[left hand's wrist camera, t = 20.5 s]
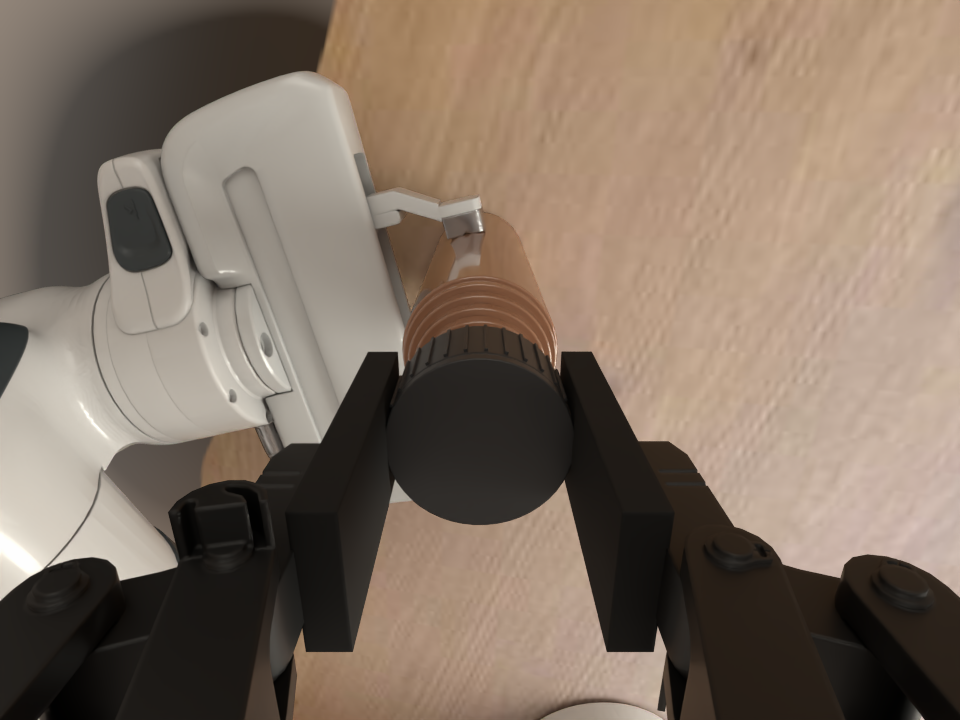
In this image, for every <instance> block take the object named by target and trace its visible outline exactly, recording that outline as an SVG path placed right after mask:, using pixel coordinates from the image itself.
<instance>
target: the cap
mask: <svg viewBox="0 0 960 720" xmlns="http://www.w3.org/2000/svg"><path fill="white" fill-rule="evenodd" d="M567 401H568V399H567V396H566V393H565V390H564V387H563V384H562V381H561V378H560V375H559V372H558V370H557V369H556V370H555V369H554V367H553V366H552V363H551V360H550V357H549V356H548V355H546V356H545V354H544V353H543V352H542V351H541V350H540V349H539V348H538V345H537V344H536V343H534V344H533V343H532V342H530V341H529V340H528V339H526V338H524V337H523V335H522V334H521V333H519V334H516V333H514V332H512V331H509V330H506V328H505V327H502V329H501V328H497V327H490V326H487V324H484V326H470V327H469V325H465V327H462V328H458V329H454V330H451V329H449V330H447V332H446V333H444V334H441V335H439V336H438V337H436V338H434V337H432V338H431V340H430V341H429V342H428V343H427V344H425V345H424V346H423V347H422V348H420V347H419V348H418V349H417V351H416V354H415V355H414V356H413V358H412V359H411V360H410V361H409V360H408V361H407V362H406V365H405V368H404V371H403V374H402V375H400V376H399V379H398V382H397V385H396V388H395V391H394V394H393V397H392V400H391V403H390V406H389V407H390V408H391V411H390V414H389V418H388V421H387V426H386V440H387V455H388V465H389V467H390V470H391V472H392V474H393V476H394V478H395V480H396V482H397V483H398V485H399V486H400V487H401V489H402V490H403V491H404V492H405V493H406V494H407V495H408V497H409V498H410V499H411V500H413V501H414V502H415V503H416V504H418V505H419V506H420V507H422V508H423V509H425V510H427V511H428V512H430V513H432V514H434V515H436V516H438V517H440V518H443V519H446V520H449V521H453V522H457V523H462V524H471V525H489V524H498V523H502V522H507V521H510V520H513V519H516V518H519V517H522V516H524V515H526V514H528V513H530V512H532V511H533V510H535V509H536V508H538V507H540V506H541V505H542V504H543V503H545V502H546V501H547V500H548V499H549V498H550V497H551V496H552V495H553V494H554V493H555V492H556V491H557V490H558V488H559V487H560V486H561V484H562V483H563V481H564V479H565V477H566V476H567V474H568V472H569V469H570V467H571V463H572V449H573V434H574V426H573V422H572V418H571V413H570V410H569V407H568V404H567Z"/></svg>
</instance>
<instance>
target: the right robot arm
mask: <svg viewBox="0 0 960 720" xmlns="http://www.w3.org/2000/svg"><path fill="white" fill-rule="evenodd" d="M97 184H98V192H99V199H100V205H101V211H102V217H103V224H104V230H105V237H106V245H107V253H108V262H109V273H108V274H106V275H105V276H103V277H101V278H100V279H98V280H97V281H95V282H94V283H92V284H90V285H87V286H82V287H73V286H49V287H43V288H38V289H34V290H30V291H26V292H22V293H18V294H14V295H11V296H7V297H4V298H0V601H1V600H2V599H3V598H4V597H5V596H6V595H7V594H8V593H9V592H10V591H11V590H13V589H14V588H15V587H17V586H18V585H19V584H21V583H22V582H23V581H25V580H26V579H27V578H29V577H30V576H32V575H34V574H36V573H38V572H40V571H42V570H44V569H46V568H48V567H50V566H52V565H55V564H58V563H62V562H65V561H69V560H72V559H79V558H88V557H95V558H101V559H106V560H108V561H109V562H111V563H112V564H113V565H114V566H115V567H116V570H117V573H118V576H119V580H120V581H121V580H125V579H130V578H134V577H139V576H143V575H148V574H153V573H157V572H161V571H165V570H168V569H172V568H175V567H177V565H178V563H179V561H180V559H179V555H178V551H177V547H176V544H175V543H174V542H173V541H172V540H171V539H170V538H168V537H167V536H166V535H165V534H164V533H163V532H162V531H160V530H159V529H157V528H156V527H154V526H153V525H152V524H151V523H150V522H149V521H148V520H147V519H146V518H145V516H144V515H143V514H142V513H141V512H140V511H139V510H138V509H137V508H136V507H135V505H134V504H133V503H132V502H131V501H130V500H129V499H128V498H127V497H126V496H125V494H124V493H123V492H122V491H121V490H120V489H119V488H118V487H117V486H116V484H115V483H114V482H113V481H112V480H111V479H110V478H109V477H108V476H107V475H106V473H105V472H104V471H105V470H106V469H107V467H108V465H109V464H110V462H111V460H112V458H113V457H114V455H115V454H116V453H118V452H120V451H122V450H124V449H125V448H127V447H129V446H131V445H135V444H151V445H170V444H178V443H182V442H187V441H191V440H196V439H201V438H206V437H210V436H215V435H220V434H224V433H229V432H234V431H238V430H243V429H248V428H253V427H255V429H256V432H257V434H258V436H259V439H260V441H261V443H262V446H263V448H264V450H265V452H266V454H267V455H268V457H269V458H270V460H271V458H272V457H273V456H274V455H275V454H277V453H278V452H280V451H281V450H282V449H284V448H285V447H287V446H288V445H289V444H291V443H321V441H322V439H323V438H324V436H325V434H326V432H327V430H328V428H329V426H330V424H331V422H332V420H333V418H334V416H335V414H336V412H337V411H338V409H339V407H340V405H341V403H342V401H343V399H344V397H345V395H346V393H347V391H348V389H349V387H350V386H351V384H352V382H353V380H354V378H355V376H356V374H357V372H358V370H359V368H360V366H361V364H362V362H363V360H364V359H365V357H366V355H367V353H368V352H398V360H399V376H400V375H402V374H403V371H404V368H405V367H404V361H403V354H402V342H403V335H404V330H405V327H406V324H407V322H408V319H409V316H410V314H411V311H410V307H409V304H408V300H407V297H406V293H405V290H404V287H403V283H402V280H401V276H400V273H399V269H398V266H397V262H396V259H395V255H394V252H393V248H392V245H391V242H390V238H389V235H388V231H387V228H386V227H388V226H392V225H396V224H399V223H400V222H401V221H402V220H403V219H404V218H405V216H406V212H409V213H413V214H416V215H420V216H423V217H427V218H430V219H434V220H437V221H440V222H442V221H443V225H444V229H445V232H446V236H447V240H448V239H453V238H457V237H460V236H463V235H464V233H465V232H468V233H471V234H472V233H478V232H482V231H484V230H486V223H485V218H484V213H483V209H482V204H481V200H480V196H479V194H477V195H470V196H466V197H462V198H458V199H454V200H449V201H445V202H441V200H440V199H436V198H433V197H430V196H427V195H424V194H421V193H417V192H414V191H411V190H408V189H405V188H401V187H397V188H393V189H389V190H385V191H381V192H376V190H375V186H374V183H373V179H372V176H371V172H370V169H369V165H368V162H367V158H366V155H365V152H364V148H363V145H362V141H361V138H360V134H359V131H358V127H357V124H356V120H355V117H354V113H353V110H352V106H351V103H350V100H349V96H348V94H347V92H346V91H345V90H344V88H343V87H341V86H339V85H338V84H336V83H335V82H333V81H332V80H330V79H328V78H326V77H325V76H323V75H320V74H318V73H315V72H309V71H299V72H294V73H290V74H286V75H282V76H278V77H275V78H273V79H269V80H266V81H263V82H260V83H258V84H255V85H252V86H250V87H247V88H244V89H242V90H239V91H237V92H234V93H232V94H230V95H227V96H225V97H223V98H220V99H218V100H216V101H214V102H212V103H210V104H208V105H206V106H204V107H202V108H200V109H198V110H196V111H194V112H192V113H190V114H189V115H187V116H186V117H184V118H183V119H182V120H180V121H179V122H178V123H177V124H176V125H175V126H174V127H173V128H172V129H171V130H170V132H169V133H168V135H167V137H166V139H165V141H164V143H163V146H162V149H152V150H145V151H140V152H135V153H131V154H127V155H124V156H121V157H118V158H115V159H112V160H109V161H107V162H105V163H104V164H102V165H101V167H100V169H99V171H98V177H97ZM407 501H413V500H411V499H410V498H409V497H408V495H407V494H406V493H405V492H404V491H403V490H402V489H401V487H400V486H399V485H398V483H397V482H396V480H395V482H394V486H393V490H392V494H391V498H390V502H389V503H397V502H407ZM38 720H39V719H38ZM540 720H663V719H662V718H660V717H659V716H657V715H656V714H654V713H652V712H649V711H647V710H645V709H642V708H639V707H636V706H632V705H627V704H621V703H610V702H598V703H587V704H580V705H575V706H571V707H568V708H564V709H561V710H559V711H556V712H554V713H551V714H549V715H547V716H546V717H544V718H542V719H540Z"/></svg>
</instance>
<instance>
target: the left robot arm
mask: <svg viewBox="0 0 960 720" xmlns="http://www.w3.org/2000/svg"><path fill="white" fill-rule="evenodd" d="M560 378H561V381H562V384H563V387H564V390H565V393H566V396H567V399H568V401H567V404H568V407H569V410H570V413H571V418H572V422H573V426H574V434H573V449H572V463H571V467H570V469H569V472H568V474H567V476H566V477H565V479H564V480H565V484H566V488H567V492H568V496H569V500H570V504H571V508H572V512H573V516H574V520H575V524H576V528H577V532H578V536H579V540H580V545H581V549H582V553H583V557H584V561H585V565H586V569H587V573H588V577H589V581H590V585H591V589H592V593H593V597H594V601H595V605H596V610H597V614H598V618H599V622H600V626H601V630H602V634H603V638H604V642H605V646H606V650H607V652H654V646H655V639H656V633H657V626H658V628H659V631H660V633H661V636H662V639H663V642H664V645H665V647H666V650H667V654H666V660H665V666H664V672H663V678H662V684H661V690H660V696H659V703H658V710H659V711H664V712H665V708H667V718H668V720H920V718H921V716H922V717H923V718H924V719H925V720H960V597H958V596H957V595H956V594H955V593H954V592H953V591H952V590H951V589H950V588H949V587H947V586H946V585H945V584H943V583H942V582H941V581H939V580H938V579H937V578H935V577H934V576H933V575H931V574H930V573H928V572H926V571H924V570H922V569H920V568H918V567H916V566H914V565H912V564H910V563H907V562H904V561H901V560H897V559H894V558H890V557H886V556H877V555H862V556H857V557H853V558H851V559H850V560H849V561H848V562H847V563H846V564H845V565H844V568H843V571H842V575H841V578H837V577H832V576H827V575H823V574H818V573H814V572H809V571H804V570H800V569H796V568H793V567H789V566H786V565H783V564H782V562H781V560H780V558H779V557H778V555H777V554H776V552H775V551H774V549H773V548H772V547H771V546H770V545H769V544H767V543H766V542H765V541H763V540H762V539H761V538H759V537H758V536H756V535H754V534H751V533H749V532H747V531H745V530H743V529H740V528H736V527H734V526H733V524H732V523H731V521H730V519H729V518H728V516H727V515H726V513H725V512H724V510H723V509H722V507H721V506H720V504H719V503H718V501H717V500H716V498H715V496H714V495H713V493H712V492H711V490H710V489H709V487H708V486H706V484H705V481H704V480H703V478H702V476H701V475H700V473H697V469H696V467H695V466H694V464H693V463H692V461H691V460H690V458H689V457H688V455H687V454H686V453H684V452H683V451H681V450H680V449H679V448H677V447H676V446H674V445H673V444H672V443H670V442H669V441H638V440H637V438H636V436H635V434H634V433H633V431H632V429H631V427H630V425H629V423H628V421H627V419H626V417H625V415H624V413H623V411H622V409H621V407H620V406H619V404H618V402H617V400H616V398H615V396H614V394H613V392H612V390H611V388H610V386H609V384H608V382H607V380H606V379H605V377H604V375H603V373H602V371H601V369H600V367H599V365H598V363H597V361H596V359H595V357H594V355H593V353H592V352H562V354H561V371H560ZM398 379H399V360H398V352H368V353H367V355H366V357H365V359H364V360H363V362H362V364H361V366H360V368H359V370H358V372H357V374H356V376H355V378H354V380H353V382H352V384H351V386H350V387H349V389H348V391H347V393H346V395H345V397H344V399H343V401H342V403H341V405H340V407H339V409H338V411H337V412H336V414H335V416H334V418H333V420H332V422H331V424H330V426H329V428H328V430H327V432H326V434H325V436H324V438H323V439H322V441H321V443H291V444H289V445H288V446H287V447H285V448H284V449H282V450H281V451H280V452H278V453H277V454H275V455H274V456H273V457H272V458H271V460H270V461H269V463H268V464H267V466H266V467H265V469H264V471H263V475H260V477H259V478H258V480H257V481H256V483H254V482H250V481H246V480H228V481H223V482H218V483H213V484H209V485H206V486H204V487H202V488H199V489H197V490H194V491H192V492H190V493H189V494H187V495H186V496H184V497H183V498H181V499H180V500H178V501H177V502H176V503H175V504H174V506H173V507H172V508H171V509H170V511H169V512H168V514H169V518H170V522H171V526H172V530H173V534H174V538H175V543H176V547H177V551H178V555H179V559H180V561H179V563H178V565H177V567H175V568H172V569H168V570H165V571H161V572H157V573H153V574H148V575H143V576H139V577H134V578H130V579H125V580H121V581H120V580H119V576H118V573H117V570H116V567H115V566H114V565H113V564H112V563H111V562H109V561H108V560H106V559H101V558H95V557H88V558H79V559H72V560H69V561H65V562H62V563H58V564H55V565H52V566H50V567H48V568H46V569H44V570H42V571H40V572H38V573H36V574H34V575H32V576H30V577H29V578H27V579H26V580H25V581H23V582H22V583H21V584H19V585H18V586H17V587H15V588H14V589H13V590H11V591H10V592H9V593H8V594H7V595H6V596H5V597H4V598H3V599H2V600H1V601H0V720H38V719H39V720H293V710H294V700H295V690H296V680H297V673H296V666H295V660H294V654H293V652H294V649H295V646H296V644H297V641H298V638H299V635H300V633H301V630H302V629H303V635H304V642H305V648H306V652H353V649H354V645H355V641H356V636H357V632H358V628H359V624H360V620H361V616H362V612H363V608H364V604H365V600H366V596H367V592H368V588H369V584H370V580H371V576H372V572H373V567H374V563H375V559H376V555H377V551H378V547H379V543H380V539H381V535H382V531H383V527H384V523H385V519H386V515H387V511H388V507H389V502H390V498H391V494H392V490H393V486H394V482H395V478H394V476H393V474H392V472H391V470H390V467H389V465H388V455H387V440H386V426H387V421H388V418H389V414H390V411H391V408H390V407H389V406H390V403H391V400H392V397H393V394H394V391H395V388H396V385H397V382H398Z"/></svg>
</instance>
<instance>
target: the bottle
mask: <svg viewBox="0 0 960 720" xmlns="http://www.w3.org/2000/svg"><path fill="white" fill-rule="evenodd" d="M483 213H484V212H483ZM484 218H485V223H486V230H484V231H482V232H478V233H472V234H471V233H468V232H465V233H464V235H463V236H460V237H457V238H453V239H448V240H447V236H446V232H445V231H444V232H443V234H442V235H441V237H440V240H439V242H438V245H437V247H436V250H435V252H434V255H433V258H432V260H431V263H430V265H429V268H428V270H427V273H426V275H425V278H424V281H423V283H422V286H421V288H420V291H419V293H418V296H417V299H416V301H415V304H414V306H413V309H412V311H411V314H410V316H409V319H408V322H407V324H406V327H405V330H404V335H403V342H402V354H403V361H404V367H405V365H406V362H407V361H408V360H409V361H410V360H411V359H412V358H413V356H414V355H415V354H416V351H417V349H418V348H419V347H420V348H422V347H423V346H424V345H425V344H427V343H428V342H429V341H430V340H431V338H432V337H434V338H436V337H438V336H439V335H441V334H444V333H446V332H447V330H449V329H451V330H454V329H458V328H462V327H465V325H469V327H470V326H484V324H487V326H490V327H497V328H501V329H502V327H505V328H506V330H509V331H512V332H514V333H516V334H519V333H521V334H522V335H523V337H524V338H526V339H528V340H529V341H530V342H532V343H533V344H534V343H536V344H537V345H538V348H539V349H540V350H541V351H542V352H543V353H544V354H545V356H546V355H548V356H549V357H550V360H551V363H552V366H553V367H554V369H555V365H556V359H557V337H556V332H555V328H554V325H553V322H552V320H551V317H550V315H549V312H548V310H547V307H546V305H545V302H544V300H543V297H542V294H541V292H540V289H539V287H538V284H537V282H536V279H535V277H534V274H533V271H532V269H531V266H530V264H529V261H528V259H527V256H526V254H525V251H524V249H523V246H522V243H521V241H520V239H519V236H518V234H517V233H516V231H515V230H514V229H513V227H512V226H511V225H510V224H509V223H508V222H506V221H505V220H504V219H502V218H500V217H498V216H496V215H493V214H490V213H484Z"/></svg>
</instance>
